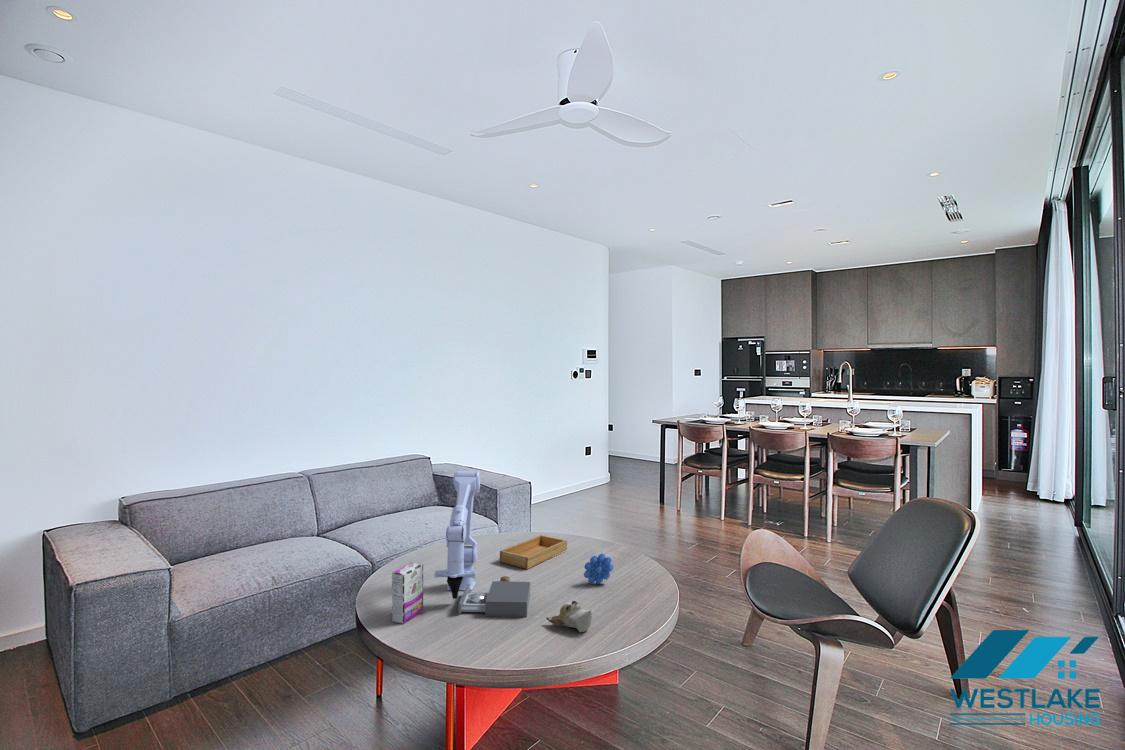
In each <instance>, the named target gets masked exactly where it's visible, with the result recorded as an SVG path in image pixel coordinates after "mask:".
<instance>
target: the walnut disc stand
mask: <svg viewBox="0 0 1125 750" xmlns="http://www.w3.org/2000/svg"><path fill="white" fill-rule="evenodd" d="M499 579H500V580H499V581H509V582H511V578H510V577H509V576H507V575H504V576H501V577H500V578H499Z"/></svg>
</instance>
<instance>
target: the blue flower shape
mask: <svg viewBox="0 0 1125 750" xmlns="http://www.w3.org/2000/svg"><path fill="white" fill-rule="evenodd" d="M584 570H585V571H584V572H583V577H584V578H585V579H587V582H588V583H589V584H592V585H593V584H594V583H596V584H597V585H601V584H602V583H603V581H605V580H606V581H607V580H608V579H610V577H611V573H610V572H612V571H613V570H614V565H613V564H612V558H611V556H606V554H604V553H599V554H598V556H597V555H592V556H591V557H590V558H589V561H588V562H586V563H585V564H584Z"/></svg>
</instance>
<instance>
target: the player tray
mask: <svg viewBox="0 0 1125 750" xmlns="http://www.w3.org/2000/svg"><path fill="white" fill-rule="evenodd" d="M470 591H471V590H470V584H467V586H466V588H465V590H463V593H462V595H461V597H460V600H459V602H458V611H457V612H458V614H462V612H463V613H465V612H466V613H485V605H486V601H485V602H484V603H481V604H473V603H471V602H470V595H471V594H473V593H474V592H470ZM483 593H484V594H485V595H486V599H487V596H488V593H489V592H483Z"/></svg>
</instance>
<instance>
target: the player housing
mask: <svg viewBox="0 0 1125 750" xmlns="http://www.w3.org/2000/svg"><path fill="white" fill-rule="evenodd" d="M487 593H488V596H487V599H486V605H485V612H484V615H485V617H499V618H500V617H504V618H506V617H507V618H509V617H510V618H512V617H514V618H527V616H528V613H529V612H528V610H529V604H530V598H531V581H510V582H509V581H500V580H499V581H498V580H494V581H493V580H492V581H491V584H490V587H489V591H488V592H487Z"/></svg>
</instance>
